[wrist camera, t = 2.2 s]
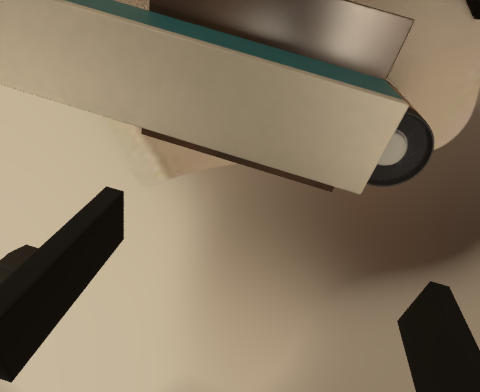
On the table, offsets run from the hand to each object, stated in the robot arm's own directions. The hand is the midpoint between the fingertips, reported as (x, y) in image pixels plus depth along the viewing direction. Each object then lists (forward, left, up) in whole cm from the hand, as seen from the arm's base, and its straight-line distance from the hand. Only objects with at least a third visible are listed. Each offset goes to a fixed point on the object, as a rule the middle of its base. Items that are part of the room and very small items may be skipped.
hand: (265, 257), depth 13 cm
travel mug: (-5, +8, -38) cm, 39 cm away
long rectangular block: (0, -9, -8) cm, 12 cm away
